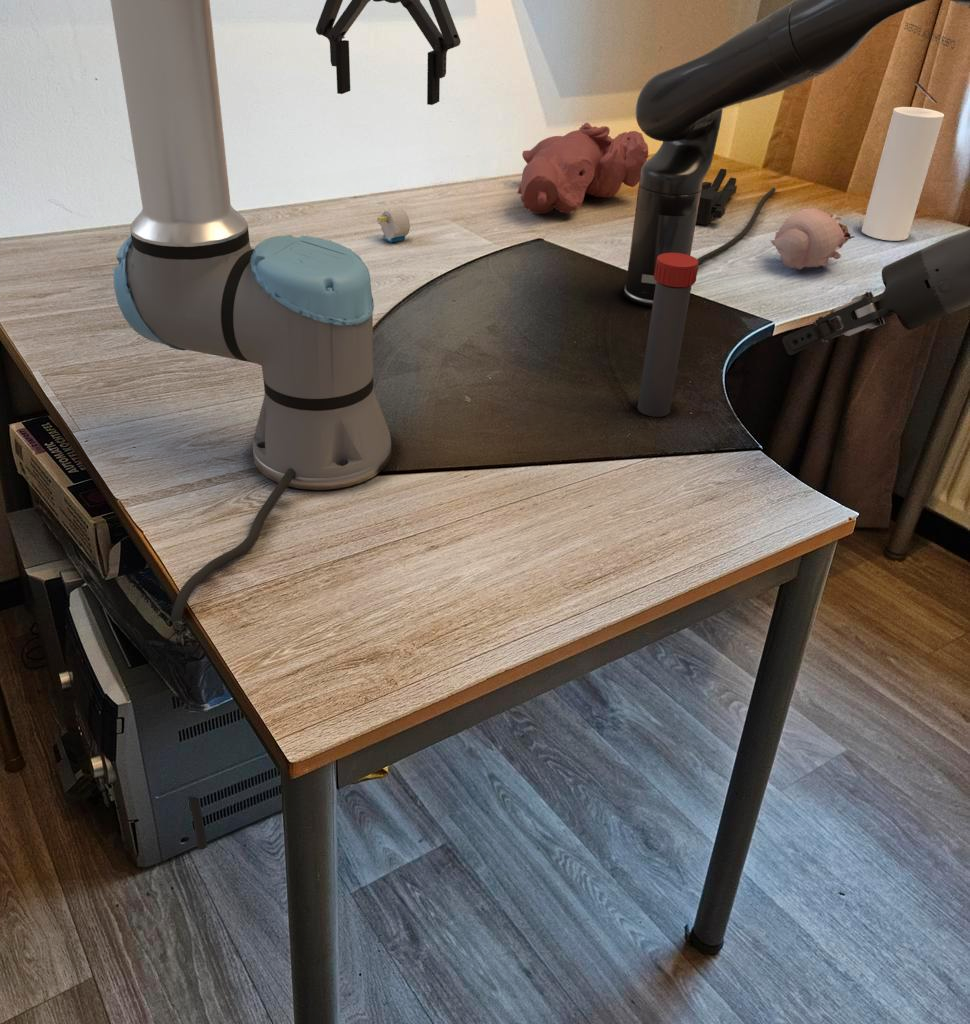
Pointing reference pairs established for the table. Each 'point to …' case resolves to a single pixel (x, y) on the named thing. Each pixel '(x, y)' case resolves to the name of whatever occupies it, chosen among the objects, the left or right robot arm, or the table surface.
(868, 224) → the tall white tube
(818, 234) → the toy
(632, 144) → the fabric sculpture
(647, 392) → the bottle
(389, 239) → the electric motor
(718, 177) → the black forked piece
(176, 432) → the table surface
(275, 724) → the table surface
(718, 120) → the right robot arm
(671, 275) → the lid
